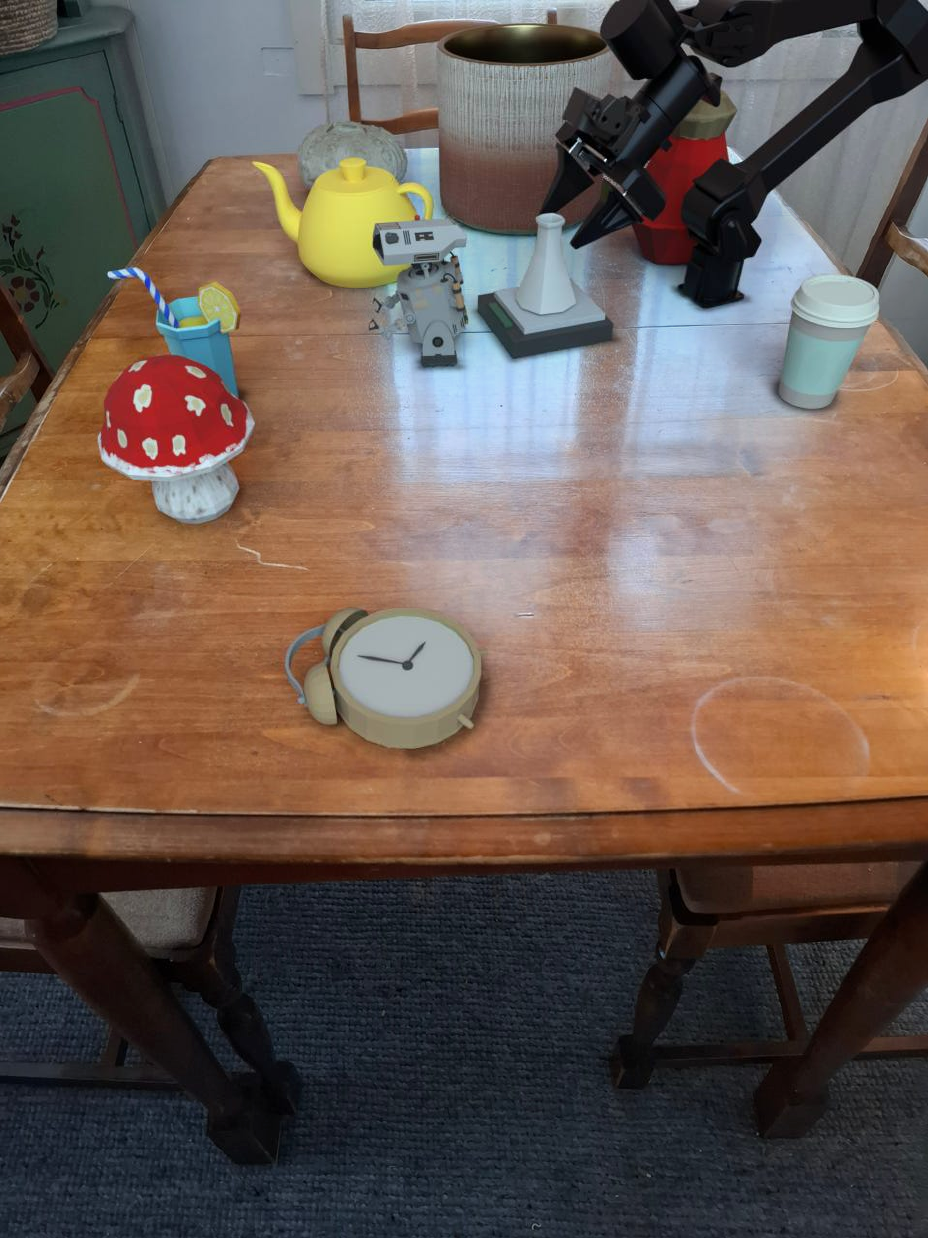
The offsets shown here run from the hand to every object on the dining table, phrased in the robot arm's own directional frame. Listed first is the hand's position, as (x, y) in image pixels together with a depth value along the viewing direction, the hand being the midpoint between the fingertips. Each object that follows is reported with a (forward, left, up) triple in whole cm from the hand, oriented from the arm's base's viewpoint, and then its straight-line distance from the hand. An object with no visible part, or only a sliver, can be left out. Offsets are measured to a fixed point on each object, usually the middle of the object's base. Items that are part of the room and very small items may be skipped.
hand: (556, 231), depth 93 cm
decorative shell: (+8, -54, -12) cm, 56 cm away
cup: (+43, 0, -12) cm, 45 cm away
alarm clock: (+39, +47, -12) cm, 62 cm away
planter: (-13, -36, -12) cm, 40 cm away
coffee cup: (-18, +27, -12) cm, 34 cm away
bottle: (-26, -11, -12) cm, 30 cm away
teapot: (+17, -28, -12) cm, 34 cm away
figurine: (+17, -1, -12) cm, 21 cm away
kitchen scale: (+1, 0, -11) cm, 11 cm away
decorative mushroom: (+48, +18, -12) cm, 52 cm away
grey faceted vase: (+1, 0, -9) cm, 9 cm away
